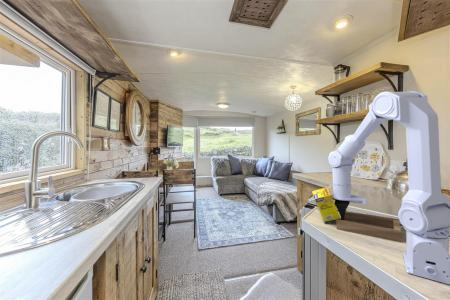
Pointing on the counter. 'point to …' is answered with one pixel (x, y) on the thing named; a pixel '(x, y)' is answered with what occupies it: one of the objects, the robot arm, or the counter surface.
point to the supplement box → (326, 205)
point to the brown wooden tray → (369, 229)
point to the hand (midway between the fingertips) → (342, 220)
